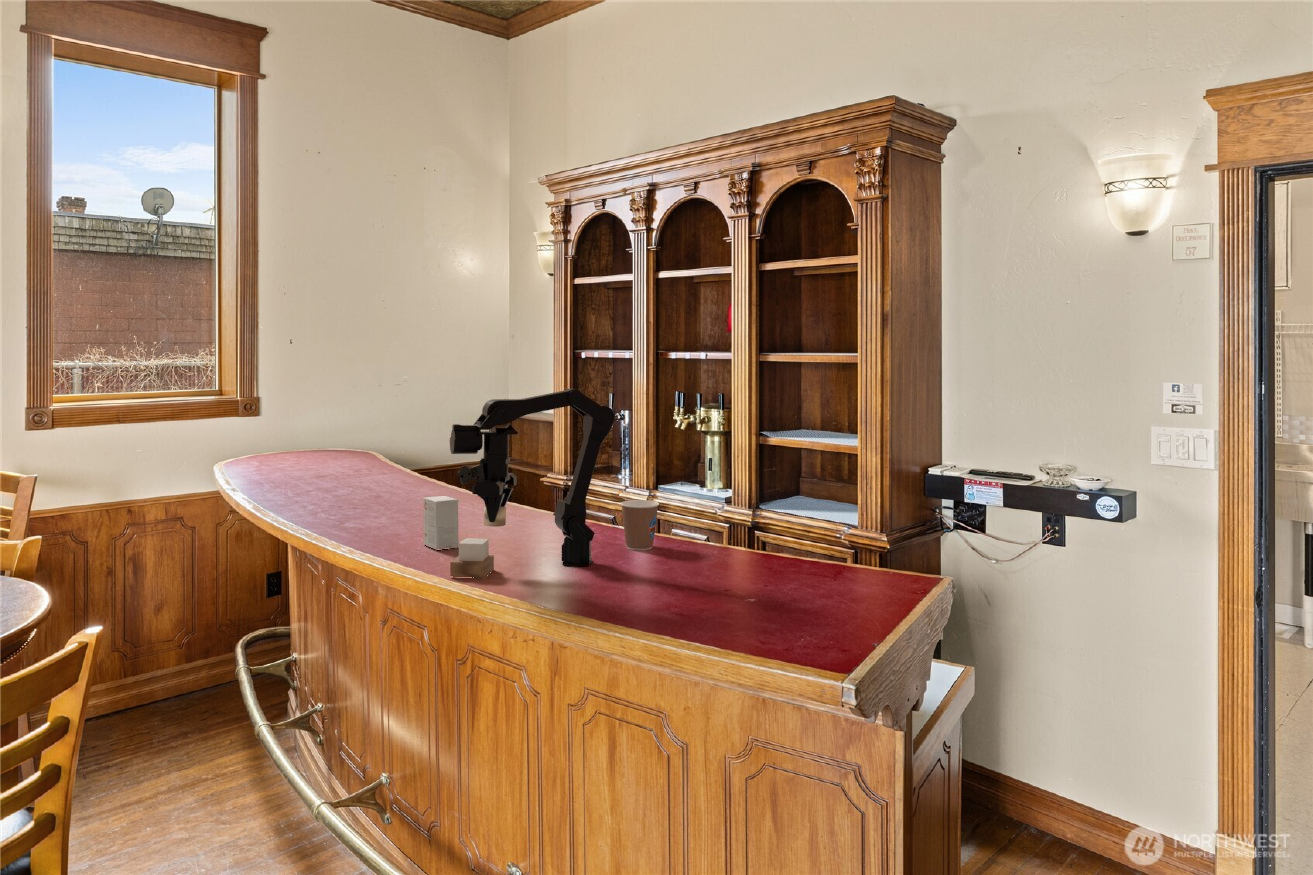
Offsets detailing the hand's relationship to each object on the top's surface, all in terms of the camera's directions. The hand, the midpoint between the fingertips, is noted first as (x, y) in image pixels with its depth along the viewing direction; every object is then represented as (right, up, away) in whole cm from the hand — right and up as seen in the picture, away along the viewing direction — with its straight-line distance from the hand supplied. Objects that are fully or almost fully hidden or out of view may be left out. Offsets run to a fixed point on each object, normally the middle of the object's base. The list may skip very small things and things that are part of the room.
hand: (494, 520), depth 195 cm
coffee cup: (+33, -10, +28) cm, 44 cm away
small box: (-19, -10, +25) cm, 33 cm away
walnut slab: (-5, -13, -2) cm, 14 cm away
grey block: (-4, -9, -2) cm, 10 cm away
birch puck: (0, -1, 0) cm, 1 cm away
